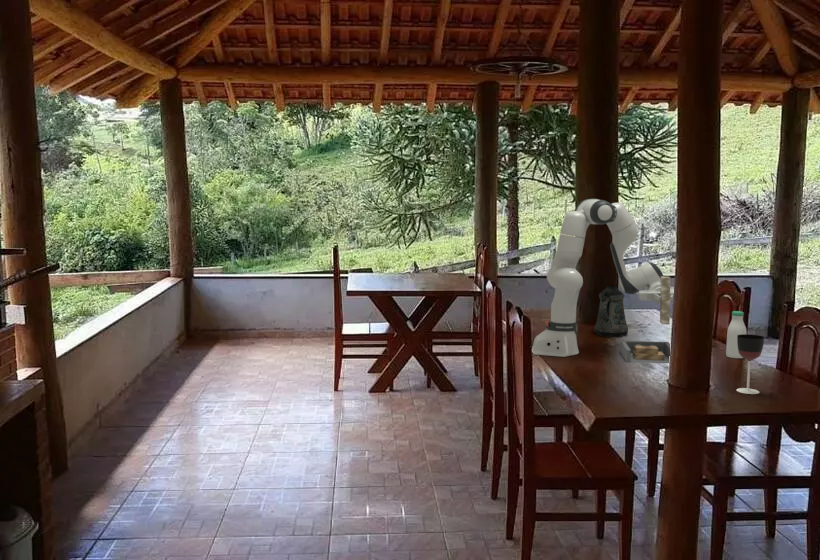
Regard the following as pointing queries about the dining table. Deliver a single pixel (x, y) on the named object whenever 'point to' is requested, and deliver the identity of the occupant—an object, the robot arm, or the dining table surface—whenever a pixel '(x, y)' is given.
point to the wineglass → (749, 354)
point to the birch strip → (665, 300)
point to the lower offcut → (649, 356)
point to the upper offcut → (645, 349)
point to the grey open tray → (628, 346)
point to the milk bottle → (735, 334)
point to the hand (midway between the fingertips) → (665, 298)
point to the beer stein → (611, 314)
